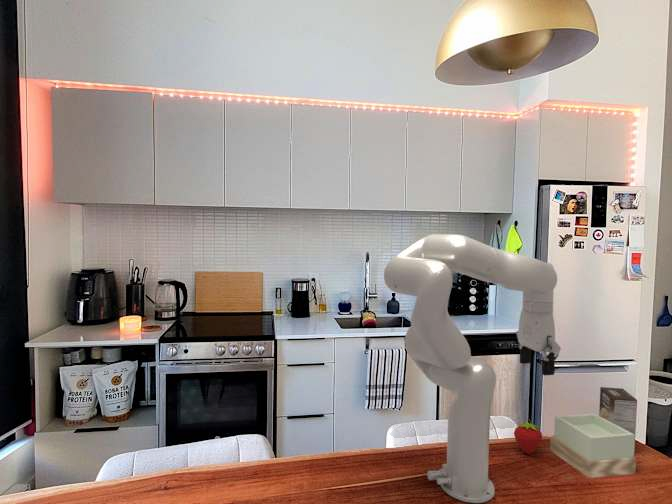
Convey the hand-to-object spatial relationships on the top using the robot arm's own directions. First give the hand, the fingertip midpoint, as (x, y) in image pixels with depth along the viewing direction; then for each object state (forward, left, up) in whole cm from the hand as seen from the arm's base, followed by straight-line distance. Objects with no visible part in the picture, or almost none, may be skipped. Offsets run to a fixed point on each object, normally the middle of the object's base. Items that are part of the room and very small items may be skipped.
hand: (536, 368), depth 112 cm
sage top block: (+15, -4, -21) cm, 26 cm away
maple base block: (+14, -4, -25) cm, 29 cm away
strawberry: (-1, +2, -25) cm, 25 cm away
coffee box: (+28, +2, -25) cm, 38 cm away
